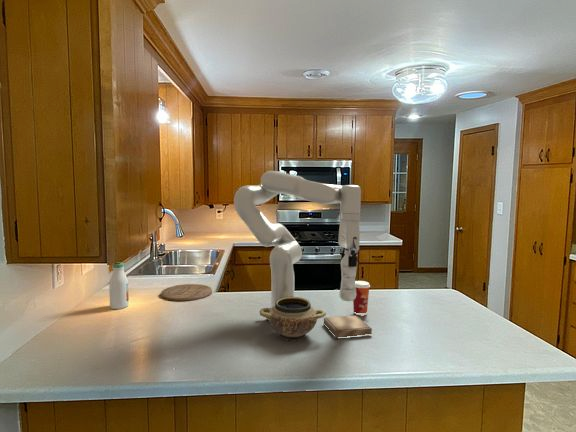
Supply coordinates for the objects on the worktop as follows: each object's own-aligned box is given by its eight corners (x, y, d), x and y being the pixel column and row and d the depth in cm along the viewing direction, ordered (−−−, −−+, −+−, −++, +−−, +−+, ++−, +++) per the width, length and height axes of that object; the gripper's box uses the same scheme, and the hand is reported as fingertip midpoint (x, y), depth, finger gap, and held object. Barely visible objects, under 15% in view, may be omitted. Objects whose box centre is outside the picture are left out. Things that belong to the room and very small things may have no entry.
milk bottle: (123, 309, 161) (122, 265, 159) (106, 309, 161) (105, 265, 159) (131, 304, 168) (130, 261, 167) (115, 303, 168) (114, 261, 167)
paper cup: (364, 318, 154) (365, 286, 153) (348, 314, 159) (349, 283, 158) (372, 313, 160) (373, 282, 159) (356, 309, 165) (357, 279, 164)
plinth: (336, 339, 133) (336, 330, 132) (323, 325, 146) (323, 317, 146) (371, 336, 136) (371, 327, 136) (356, 322, 149) (356, 314, 149)
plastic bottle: (336, 301, 139) (338, 249, 137) (342, 296, 145) (344, 246, 143) (352, 304, 136) (354, 251, 134) (358, 299, 142) (360, 248, 139)
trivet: (217, 288, 197) (217, 285, 197) (202, 303, 172) (202, 299, 172) (173, 286, 199) (173, 283, 199) (152, 300, 175) (151, 297, 174)
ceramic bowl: (255, 348, 131) (253, 312, 126) (266, 319, 147) (264, 286, 142) (324, 354, 127) (324, 317, 122) (327, 323, 143) (327, 290, 138)
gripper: (332, 216, 145) (331, 260, 146) (349, 220, 128) (348, 270, 130) (350, 215, 147) (349, 259, 148) (369, 219, 130) (367, 269, 131)
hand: (348, 264), depth 139 cm, fingers closed on plastic bottle, 6 cm apart
